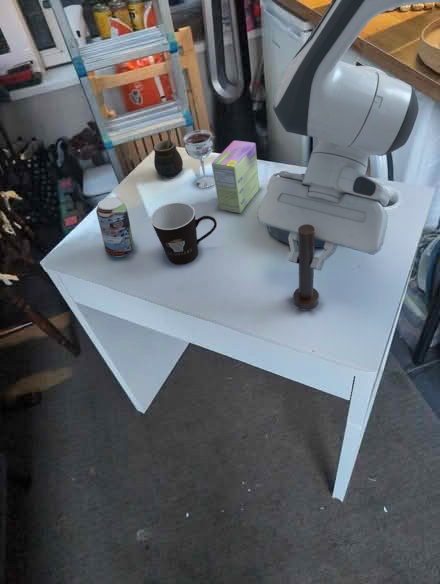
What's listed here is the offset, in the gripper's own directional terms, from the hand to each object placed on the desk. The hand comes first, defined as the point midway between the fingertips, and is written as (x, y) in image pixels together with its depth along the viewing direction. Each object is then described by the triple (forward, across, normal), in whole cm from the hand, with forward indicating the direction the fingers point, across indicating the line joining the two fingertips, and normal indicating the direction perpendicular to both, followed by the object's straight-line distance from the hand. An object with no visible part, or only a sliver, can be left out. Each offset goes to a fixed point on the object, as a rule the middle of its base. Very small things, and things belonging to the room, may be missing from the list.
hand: (304, 266), depth 69 cm
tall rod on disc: (+6, 0, +7) cm, 9 cm away
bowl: (-9, -9, +22) cm, 26 cm away
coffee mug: (+5, -27, +8) cm, 29 cm away
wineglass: (-12, -39, +25) cm, 48 cm away
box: (-10, -28, +23) cm, 37 cm away
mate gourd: (-12, -50, +25) cm, 58 cm away
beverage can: (+9, -41, +5) cm, 42 cm away
